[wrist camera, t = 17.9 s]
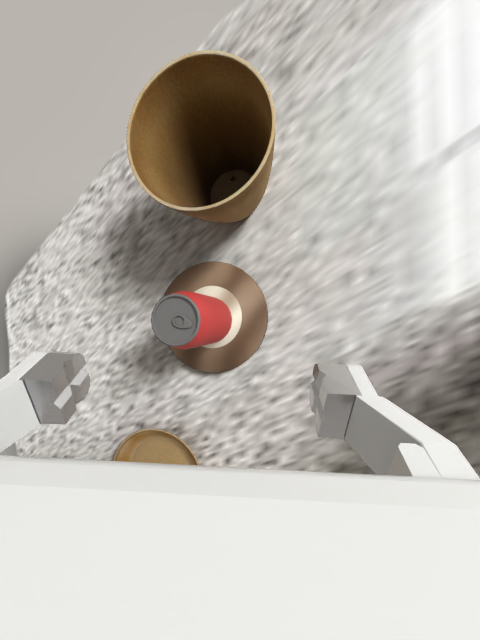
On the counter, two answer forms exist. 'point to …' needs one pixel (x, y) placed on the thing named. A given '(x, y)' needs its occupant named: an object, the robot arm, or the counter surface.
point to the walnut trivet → (244, 310)
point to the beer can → (190, 320)
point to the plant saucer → (155, 448)
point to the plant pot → (204, 136)
